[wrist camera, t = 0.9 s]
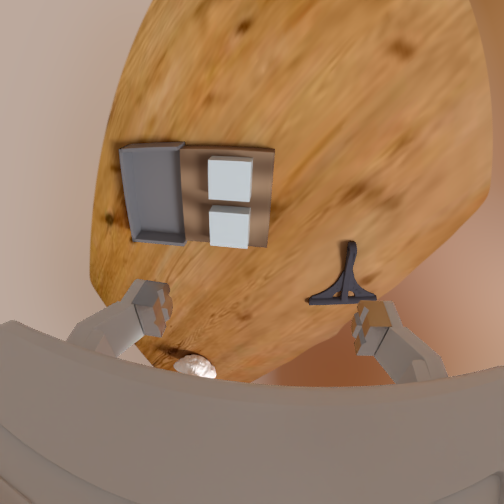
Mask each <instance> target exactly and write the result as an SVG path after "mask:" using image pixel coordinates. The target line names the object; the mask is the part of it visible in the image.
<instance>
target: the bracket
mask: <svg viewBox="0 0 504 504" xmlns="http://www.w3.org/2000/svg"><path fill="white" fill-rule="evenodd" d="M356 254H357V246H356V242H348V249H347V257H346V264H345V271H343V272H342V274H341V276H340V278H339V279H338V280H337V282H336V283H335V284H334V285H333V286H331V287H330V288H328V289H327V290H325V291H323V292H321V293H319V294H316V295H314V296H312V297H311V298H309V305H332V304H356V303H359V302H360V300H368V301H376V300H377V298H376V295H374V294H373V293H370V292H368V291H366V290H364V289H363V288H361V287H360V286H359V285H358V284H357V282H356V280H355V278H354V274H353V265H354V262H355V258H356ZM339 291H341V296H340V297H333V295H334V294H335V293H336V292H339ZM348 291H352V292H354V293H355V296H348Z"/></svg>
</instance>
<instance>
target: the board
mask: <svg viewBox="0 0 504 504" xmlns="http://www.w3.org/2000/svg"><path fill="white" fill-rule="evenodd" d="M274 155H275V149H267V148H253V147H234V146H183V147H182V148H180V170H181V188H182V202H183V215H184V227H185V238H186V240H188V241H200V242H210V227H209V211H210V209H211V207H212V205H220V206H234V207H247V208H251V211H250V232H249V244H248V246H255V247H265V248H267V241H268V230H269V218H270V206H271V194H272V181H273V168H274ZM211 156H230V157H248V158H253V169H252V190H251V198H250V202H241V201H227V200H212V199H209V195H208V159H209V158H210V157H211Z"/></svg>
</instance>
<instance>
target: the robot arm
mask: <svg viewBox="0 0 504 504" xmlns="http://www.w3.org/2000/svg"><path fill="white" fill-rule="evenodd" d="M169 292H170V288H169V285H168V284H167V283H161V282H155V281H148V280H141V279H136V280H135V281H134V282H133V284H132V285H131V286H130V288H129V289H128V291H127V292H126V294H125V296H124V297H123V299H122V300H121V302H118V301H117V302H116V303H114V304H112V305H110V306H108V307H106V308H105V309H103V310H101V311H99V312H97V313H95V314H94V315H92V316H90V317H88V318H86V319H85V320H83V321H81V322H79V323H78V324H77V325H76V326H75V328H74V329H73V331H72V332H71V334H70V335H69V337H68V339H67V340H66V341H63V340H60V339H58V338H55V337H52V336H50V335H47V334H45V333H42V332H40V331H38V330H35V329H33V328H31V327H28V326H26V325H24V324H22V323H20V322H17V321H14V320H11V321H8V322H6V323H3V324H1V325H0V504H504V366H497V367H493V368H489V369H486V370H481V371H477V372H473V373H468V374H463V375H458V376H453V377H448V375H447V373H446V370H445V367H444V364H443V361H442V359H441V357H440V356H439V355H438V354H437V353H436V352H435V351H433V350H432V349H431V348H430V347H429V346H428V345H427V344H425V343H424V342H423V341H422V340H421V339H420V338H418V337H417V336H416V335H415V334H414V333H412V332H411V331H410V330H409V329H408V328H407V327H403V325H402V323H401V320H400V317H399V315H398V312H397V310H396V308H395V305H394V303H393V302H392V301H368V300H360V302H359V303H358V306H357V309H358V312H357V313H356V314H354V316H353V319H352V326H351V329H352V336H353V337H355V339H356V340H355V342H354V346H355V351H356V355H366V356H367V355H368V356H369V355H370V356H371V355H372V356H374V357H375V358H376V360H377V361H378V362H379V363H380V365H381V366H382V367H383V368H384V369H385V371H386V372H387V373H388V374H389V376H390V377H391V378H392V379H393V381H394V382H395V383H396V384H392V385H380V386H362V387H361V386H360V387H298V386H279V385H266V384H254V383H245V382H236V381H228V380H220V379H213V378H207V377H201V376H195V375H189V374H184V373H178V372H173V371H168V370H164V369H159V368H154V367H150V366H146V365H142V364H137V363H133V362H129V361H126V360H122V359H119V358H117V357H118V356H119V355H120V354H122V353H123V352H124V351H125V350H127V349H128V348H129V347H130V346H131V345H133V344H134V343H135V342H137V341H138V340H139V339H140V338H142V337H143V336H144V335H149V336H155V337H162V335H163V333H164V330H165V328H166V323H165V322H166V321H167V320H169V319H170V317H171V314H172V309H173V303H172V298H171V297H170V296H169V295H168V294H169Z"/></svg>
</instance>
